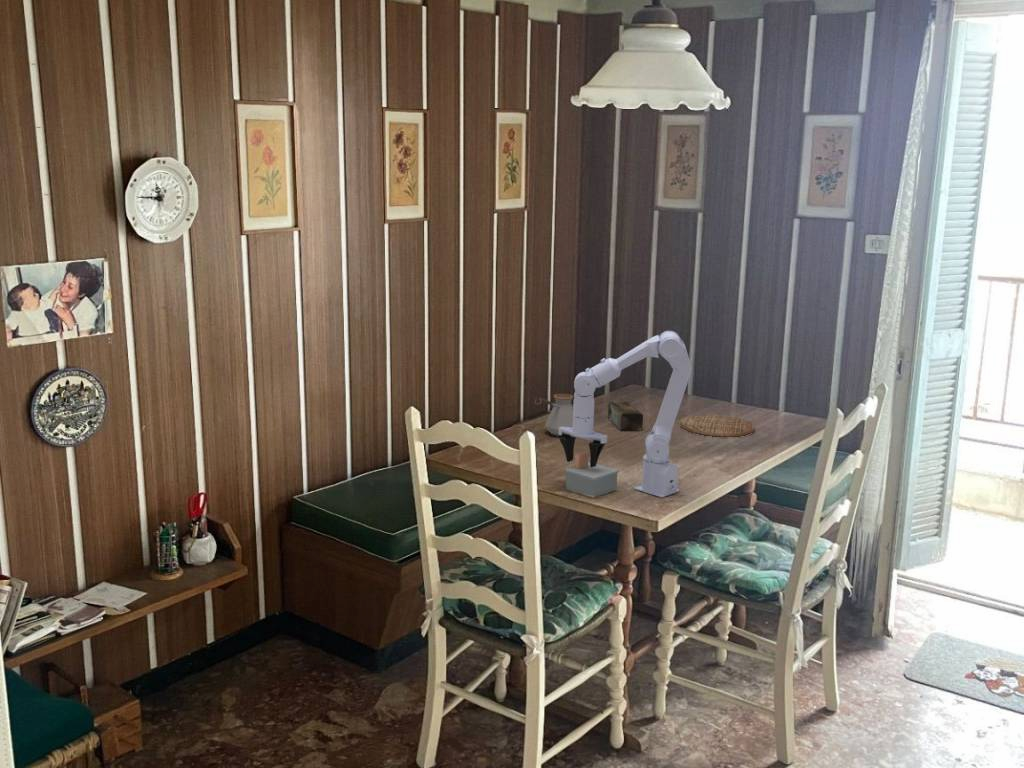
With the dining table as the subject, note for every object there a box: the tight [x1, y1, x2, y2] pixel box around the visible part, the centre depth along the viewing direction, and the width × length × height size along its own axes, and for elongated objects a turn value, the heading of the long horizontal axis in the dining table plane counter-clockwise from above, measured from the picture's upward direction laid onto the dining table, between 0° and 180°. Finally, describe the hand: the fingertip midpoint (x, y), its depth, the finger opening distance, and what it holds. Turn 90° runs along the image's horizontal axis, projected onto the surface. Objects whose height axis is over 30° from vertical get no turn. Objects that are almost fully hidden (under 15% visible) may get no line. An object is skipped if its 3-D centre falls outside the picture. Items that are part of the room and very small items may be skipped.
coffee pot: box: [534, 393, 574, 437], centre depth 329 cm, size 21×12×15 cm, turn 145°
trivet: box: [679, 414, 756, 438], centre depth 346 cm, size 25×25×2 cm
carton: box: [564, 472, 618, 499], centre depth 278 cm, size 10×10×5 cm
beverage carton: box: [607, 400, 644, 432], centre depth 348 cm, size 8×19×7 cm, turn 8°
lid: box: [564, 450, 619, 480], centre depth 277 cm, size 10×10×5 cm
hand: (581, 463), depth 280 cm, fingers open, 7 cm apart
